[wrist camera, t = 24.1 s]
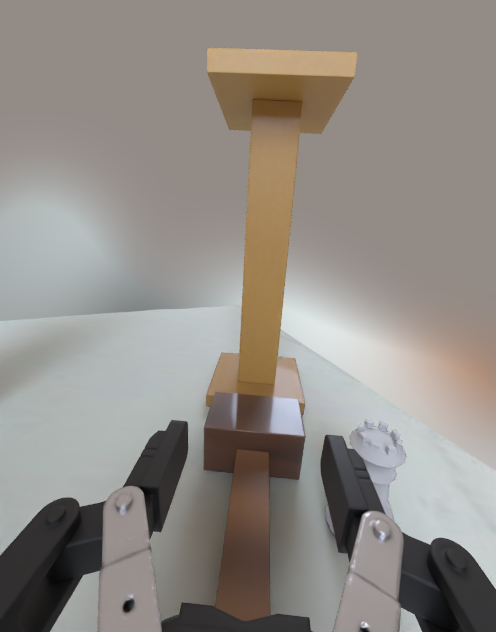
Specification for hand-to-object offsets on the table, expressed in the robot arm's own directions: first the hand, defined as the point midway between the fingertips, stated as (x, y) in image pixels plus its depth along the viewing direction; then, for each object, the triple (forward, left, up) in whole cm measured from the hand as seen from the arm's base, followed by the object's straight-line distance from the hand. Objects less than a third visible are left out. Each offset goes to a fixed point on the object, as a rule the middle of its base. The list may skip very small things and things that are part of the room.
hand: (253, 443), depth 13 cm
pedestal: (+15, +15, -10) cm, 23 cm away
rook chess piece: (+8, -3, -10) cm, 13 cm away
